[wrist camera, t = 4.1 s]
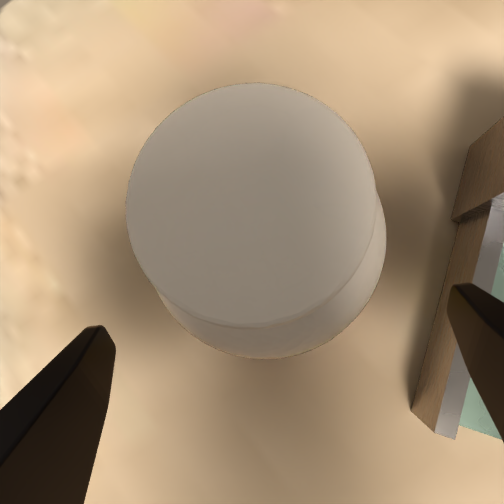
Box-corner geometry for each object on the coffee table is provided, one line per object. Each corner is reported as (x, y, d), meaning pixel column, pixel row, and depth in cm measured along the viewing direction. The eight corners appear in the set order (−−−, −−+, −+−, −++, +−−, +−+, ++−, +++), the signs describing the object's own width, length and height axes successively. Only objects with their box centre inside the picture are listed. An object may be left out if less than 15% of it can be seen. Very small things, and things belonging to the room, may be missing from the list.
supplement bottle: (370, 279, 19) (529, 231, 6) (266, 359, 19) (211, 477, 6) (287, 180, 20) (278, -32, 7) (190, 256, 20) (11, 177, 7)
